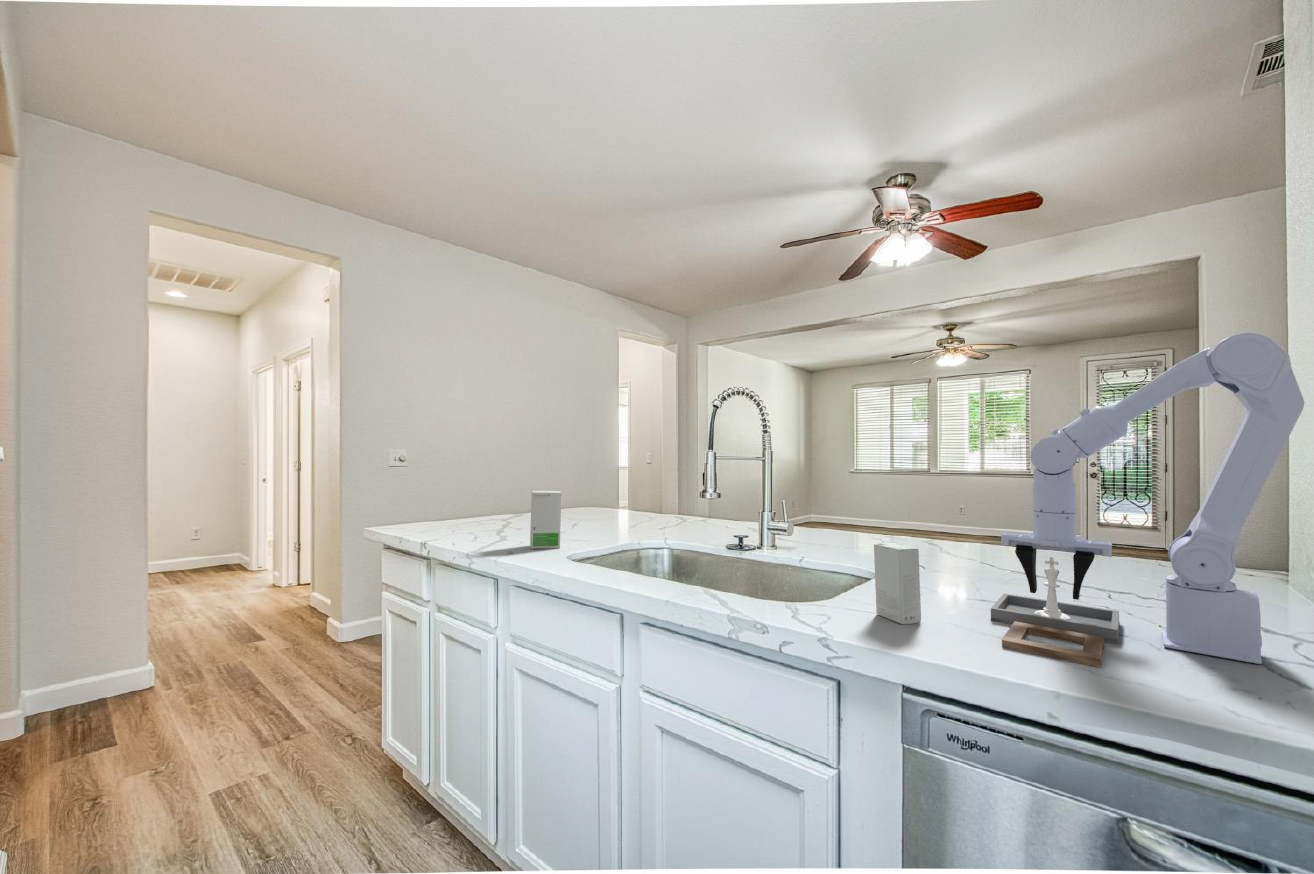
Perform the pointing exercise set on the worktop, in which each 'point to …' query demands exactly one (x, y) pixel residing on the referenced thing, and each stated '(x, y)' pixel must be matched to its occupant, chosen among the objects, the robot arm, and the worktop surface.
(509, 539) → the worktop surface
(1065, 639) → the walnut holder
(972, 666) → the worktop surface
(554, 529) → the skincare box
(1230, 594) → the robot arm
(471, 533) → the worktop surface
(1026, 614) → the parts tray
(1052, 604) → the chess piece
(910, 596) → the skincare box
